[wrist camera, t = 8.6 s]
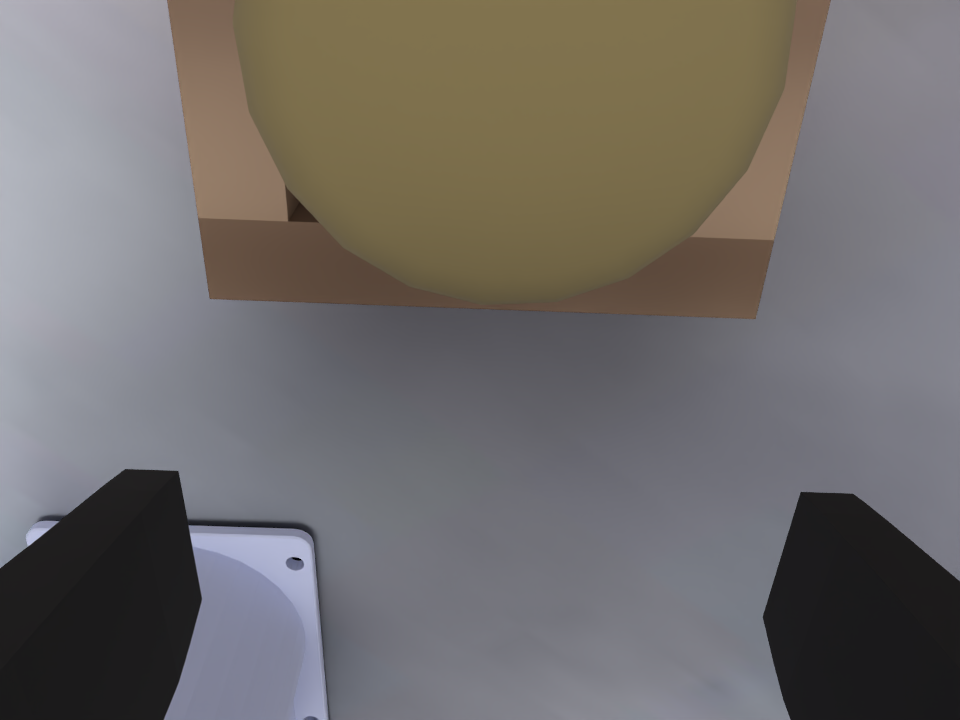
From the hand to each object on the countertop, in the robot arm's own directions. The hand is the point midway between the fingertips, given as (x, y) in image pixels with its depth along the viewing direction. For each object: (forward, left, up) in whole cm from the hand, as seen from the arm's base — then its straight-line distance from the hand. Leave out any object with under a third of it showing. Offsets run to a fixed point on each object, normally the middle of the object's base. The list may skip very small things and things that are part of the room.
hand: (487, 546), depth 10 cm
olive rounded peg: (+5, 0, -11) cm, 12 cm away
